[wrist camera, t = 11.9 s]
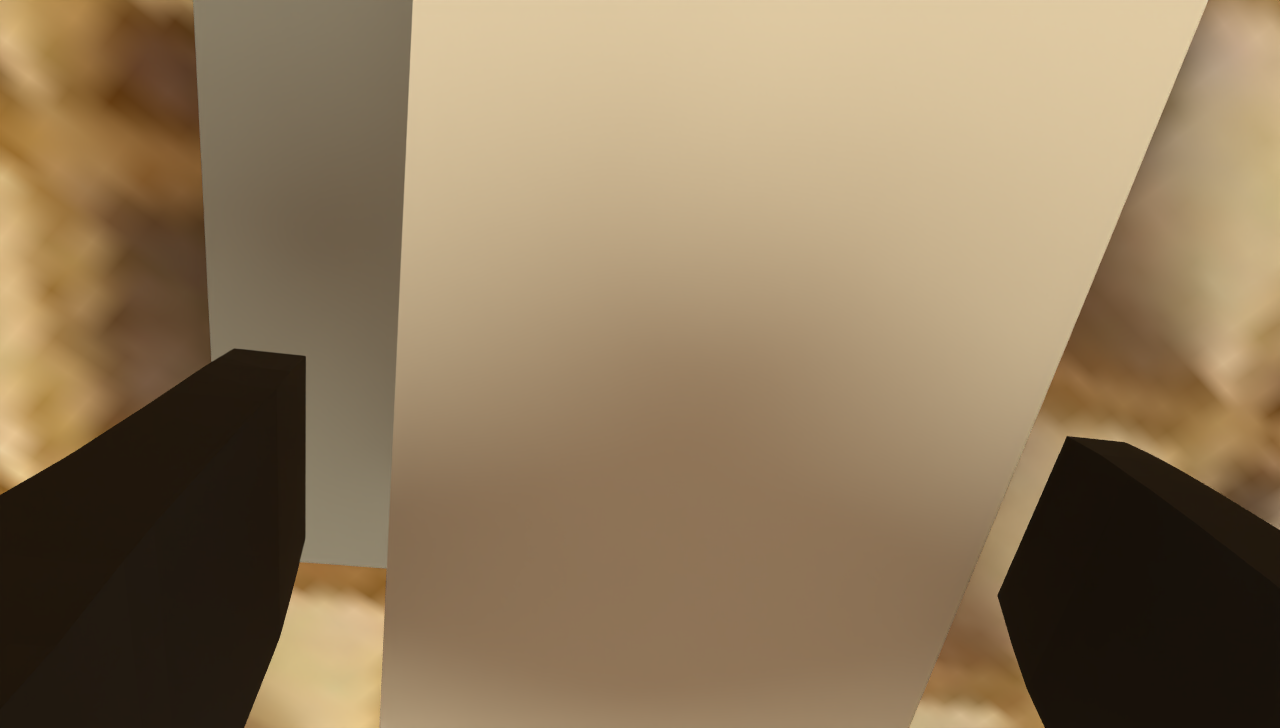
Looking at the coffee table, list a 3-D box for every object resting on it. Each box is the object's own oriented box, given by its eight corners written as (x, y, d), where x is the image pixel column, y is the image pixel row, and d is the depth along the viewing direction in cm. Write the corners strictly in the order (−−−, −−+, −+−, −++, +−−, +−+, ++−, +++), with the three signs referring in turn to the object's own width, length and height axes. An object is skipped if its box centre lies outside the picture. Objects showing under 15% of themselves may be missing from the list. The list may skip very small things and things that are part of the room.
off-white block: (736, 515, 17) (833, 911, 11) (439, 491, 17) (372, 898, 10) (900, -129, 12) (1226, -46, 6) (491, -201, 12) (421, -182, 6)
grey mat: (894, 588, 19) (902, 607, 19) (229, 536, 17) (220, 556, 17) (1183, -190, 13) (1204, -189, 12) (188, -389, 11) (173, -396, 11)
